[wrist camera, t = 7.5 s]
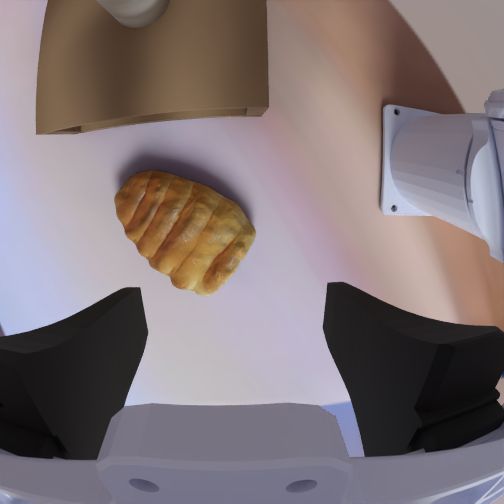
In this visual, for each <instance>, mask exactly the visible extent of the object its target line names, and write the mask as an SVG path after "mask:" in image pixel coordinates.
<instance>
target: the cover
mask: <svg viewBox="0 0 504 504" xmlns="http://www.w3.org/2000/svg"><path fill="white" fill-rule="evenodd" d="M268 107H269V86H268V41H267V7H266V0H48V2H47V7H46V13H45V18H44V24H43V30H42V37H41V44H40V53H39V63H38V75H37V92H36V135H42V134H78V133H84V132H89V131H95V130H100V129H107V128H113V127H120V126H127V125H134V124H142V123H151V122H160V121H170V120H182V119H196V118H214V117H247V116H262V115H263V114H264V112H265V111H266V110H267V109H268Z"/></svg>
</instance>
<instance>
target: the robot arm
mask: <svg viewBox="0 0 504 504" xmlns="http://www.w3.org/2000/svg"><path fill="white" fill-rule="evenodd" d="M484 107H485V111H486V113H470V114H469V113H468V114H446V115H444V114H439V113H435V112H430V111H425V110H420V109H415V108H409V107H403V106H397V105H391V104H389V105H385V106H384V108H383V165H382V189H381V205H380V209H381V212H382V213H383V214H385V215H420V216H435V217H437V218H440V219H442V220H444V221H446V222H448V223H451V224H453V225H455V226H457V227H459V228H461V229H463V230H465V231H467V232H469V233H472V234H474V235H476V236H478V237H480V238H482V239H484V240H486V242H487V243H488V245H489V249H490V256H492V257H494V258H495V259H497V260H499V261H501V262H502V263H504V89H500V90H495V91H492V92H491V94H490V96H489V98H488V100H487V101H486V102H485V103H484ZM395 109H396V110H397V112H398V114H397V115H395V114H394V110H395ZM393 205H395V209H394V210H393V211H392V210H391V207H392V206H393ZM323 331H324V334H325V338H326V342H327V345H328V348H329V350H330V353H331V355H332V357H333V359H334V362H335V364H336V366H337V368H338V370H339V372H340V375H341V377H342V379H343V381H344V383H345V386H346V388H347V390H348V393H349V396H350V398H351V402H352V405H353V408H354V412H355V415H356V419H357V423H358V427H359V431H360V435H361V440H362V444H363V449H364V455H365V457H349V454H348V452H347V449H346V445H345V442H344V439H343V437H342V434H341V431H340V428H339V425H338V422H337V419H336V416H334V415H333V414H331V413H329V412H328V411H326V410H325V409H323V408H321V407H320V406H318V405H309V404H296V403H275V404H258V405H220V406H210V405H172V404H155V403H152V404H143V405H134V406H125V407H124V405H125V401H126V398H127V394H128V392H129V389H130V386H131V384H132V381H133V379H134V376H135V374H136V371H137V369H138V366H139V363H140V361H141V358H142V356H143V353H144V349H145V345H146V341H147V336H148V328H147V323H146V318H145V312H144V307H143V301H142V295H141V289H140V287H126V288H123V289H120V290H118V291H116V292H114V293H112V294H111V295H109V296H107V297H105V298H104V299H102V300H100V301H98V302H97V303H95V304H93V305H91V306H89V307H87V308H86V309H84V310H82V311H80V312H78V313H76V314H74V315H72V316H70V317H68V318H66V319H63V320H61V321H58V322H56V323H53V324H51V325H48V326H45V327H41V328H38V329H35V330H32V331H28V332H24V333H20V334H15V335H9V336H3V337H0V504H490V503H492V502H493V501H495V500H496V499H498V498H499V497H500V496H502V495H504V404H503V405H502V406H501V405H500V404H499V402H498V401H497V399H498V398H499V397H500V393H499V392H498V390H497V389H496V388H495V387H496V385H497V383H498V381H499V379H500V377H501V375H502V373H503V371H504V332H503V331H502V330H500V329H499V328H498V327H496V326H474V325H463V324H455V323H449V322H443V321H439V320H434V319H430V318H426V317H423V316H419V315H416V314H413V313H410V312H407V311H405V310H402V309H399V308H397V307H395V306H393V305H390V304H388V303H386V302H384V301H382V300H379V299H377V298H375V297H373V296H371V295H369V294H368V293H366V292H364V291H362V290H360V289H358V288H356V287H354V286H352V285H350V284H347V283H344V282H331V283H327V293H326V303H325V312H324V321H323Z"/></svg>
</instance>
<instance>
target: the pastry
mask: <svg viewBox="0 0 504 504" xmlns="http://www.w3.org/2000/svg"><path fill="white" fill-rule="evenodd" d="M114 200H115V205H116V214H117V217H118V219H119V220H120V222H121V223H122V225H123V227H124V229H125V234H126V236H127V237H128V238H129V239H130V240H132V241H133V242H134V243H135V244H136V247H137V249H138V252H139V253H140V254H141V255H142V256H144V257H145V258H147V259H148V261H149V264H150V266H151V267H152V268H154V269H155V270H157V271H159V272H161V273H164V274H165V275H168V276H170V278H171V282H172V284H173V285H174V286H175V287H177V288H179V289H189V290H192V291H195V292H196V293H197V294H199V295H211V294H212V293H214V292H216V291H217V290H218V289H219V288H220V287H221V286H222V285H223V284H224V283H225V282H226V281H227V280H228V279H229V278H230V277H231V276H232V275H233V273H234V272H235V271H236V269H237V267H238V265H239V263H240V261H241V260H243V259H244V257H245V255H246V253H247V252H248V250H249V249H250V247H251V245H252V244H253V242H254V240H255V235H256V231H255V228H254V226H253V225H252V224H251V222H250V221H249V220H248V218H247V217H246V216H245V214H244V212H243V211H242V209H241V208H240V206H239V205H238V204H237V203H235V202H234V201H232V200H230V199H228V198H226V197H224V196H222V195H221V194H219V193H217V192H215V191H214V190H213V189H211V188H209V187H208V186H206V185H203V184H199V183H196V182H194V181H190V180H187V179H184V178H182V177H179V176H176V175H174V174H171V173H167V172H163V171H155V170H150V171H146V172H140V173H136V174H134V175H133V176H131V177H130V178H129V179H128V180H127V181H126V183H125V184H124V186H123V187H122V188H121V189H120V190H119V191H118V193H117V194H116V196H115V198H114Z"/></svg>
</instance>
